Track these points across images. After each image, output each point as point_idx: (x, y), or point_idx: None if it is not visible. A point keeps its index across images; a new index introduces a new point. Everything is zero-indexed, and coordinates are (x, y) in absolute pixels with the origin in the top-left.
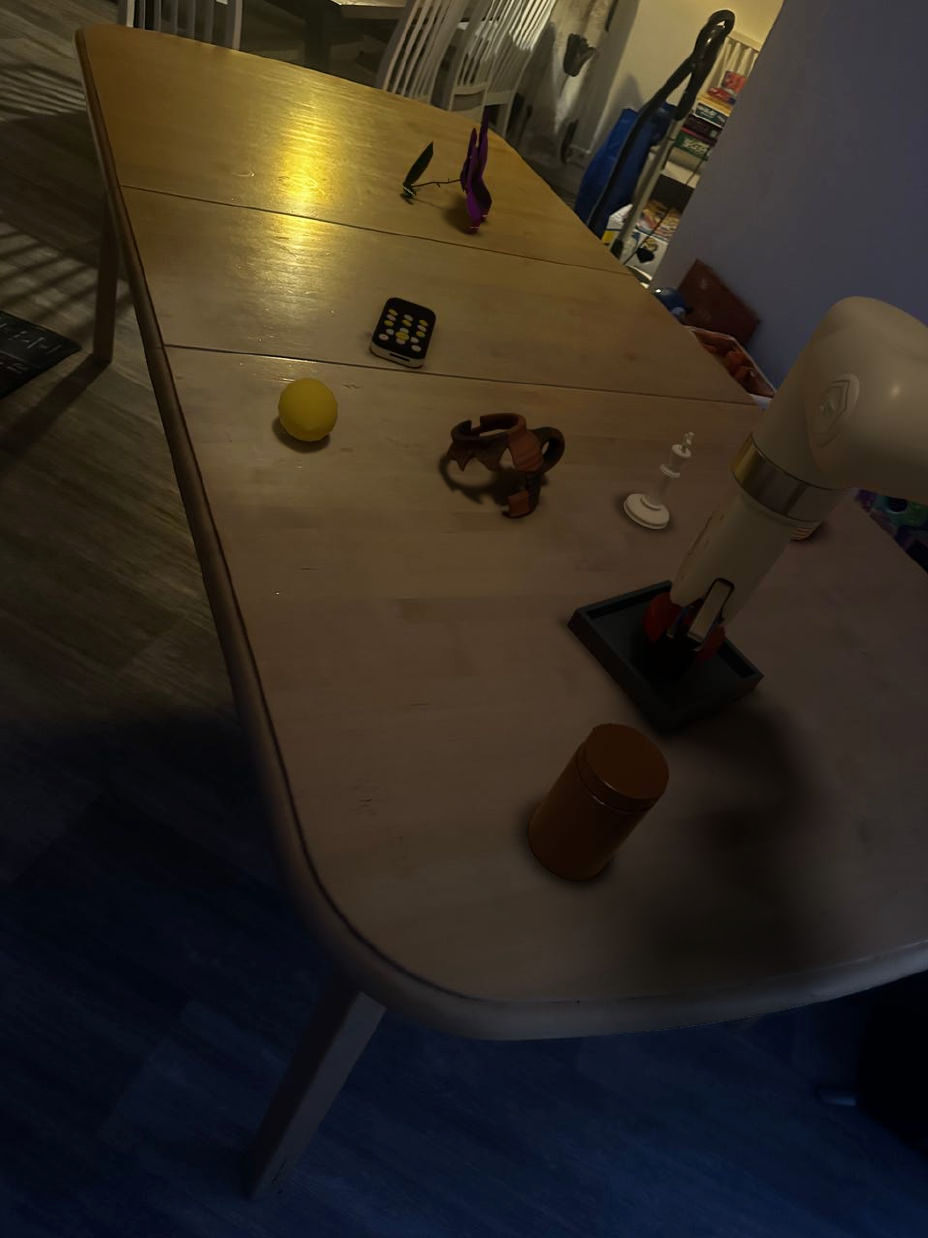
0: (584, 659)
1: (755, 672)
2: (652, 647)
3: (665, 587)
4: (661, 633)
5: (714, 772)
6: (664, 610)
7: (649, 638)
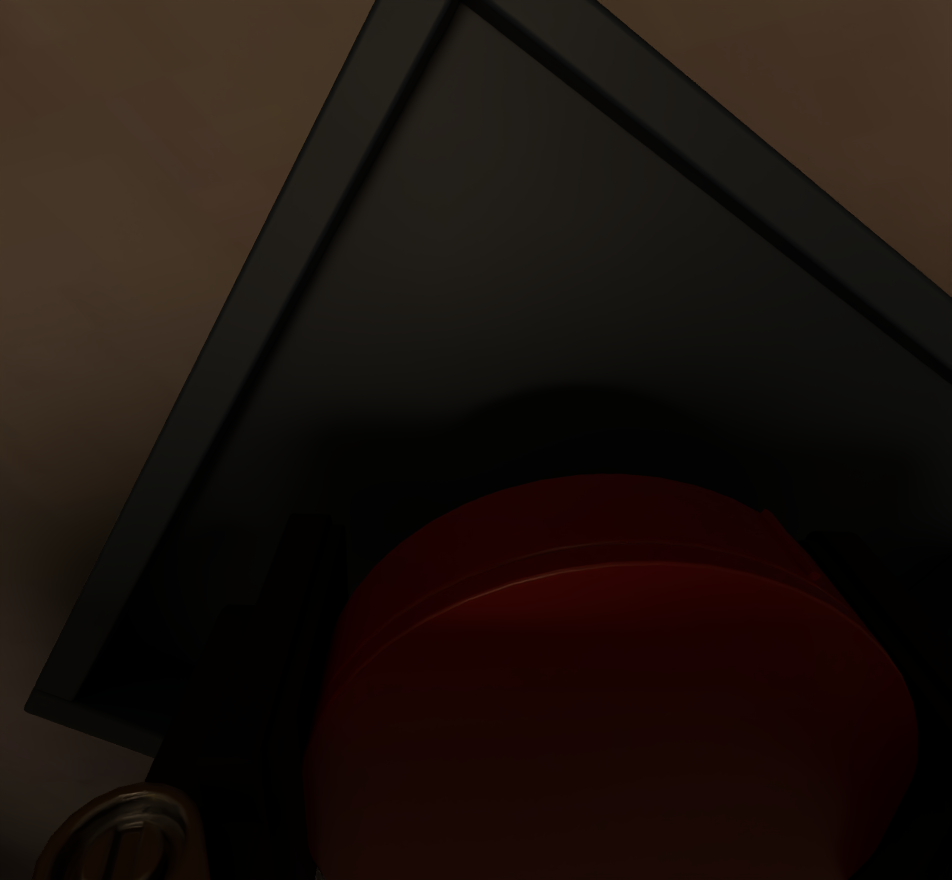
0: (221, 157)
1: None
2: (272, 597)
3: None
4: (257, 705)
5: (90, 786)
6: (602, 667)
7: (639, 473)
